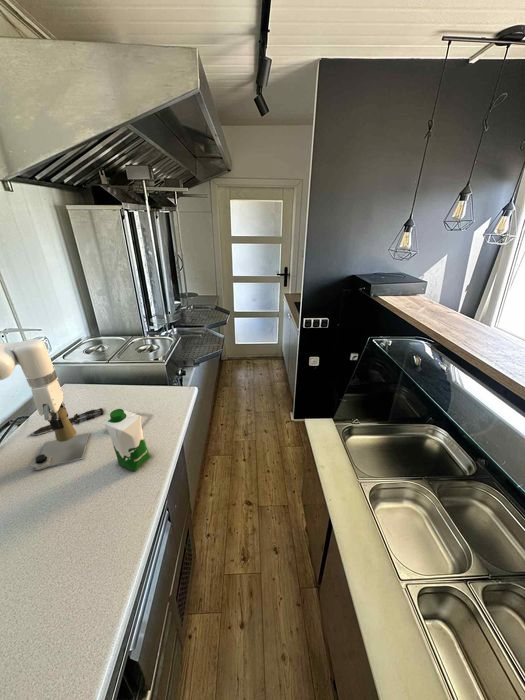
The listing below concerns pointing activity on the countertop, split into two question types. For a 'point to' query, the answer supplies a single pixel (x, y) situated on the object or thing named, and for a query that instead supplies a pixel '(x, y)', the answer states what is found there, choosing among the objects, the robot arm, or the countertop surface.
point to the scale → (62, 452)
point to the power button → (40, 458)
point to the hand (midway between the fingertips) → (60, 422)
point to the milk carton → (127, 438)
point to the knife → (48, 428)
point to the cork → (68, 429)
